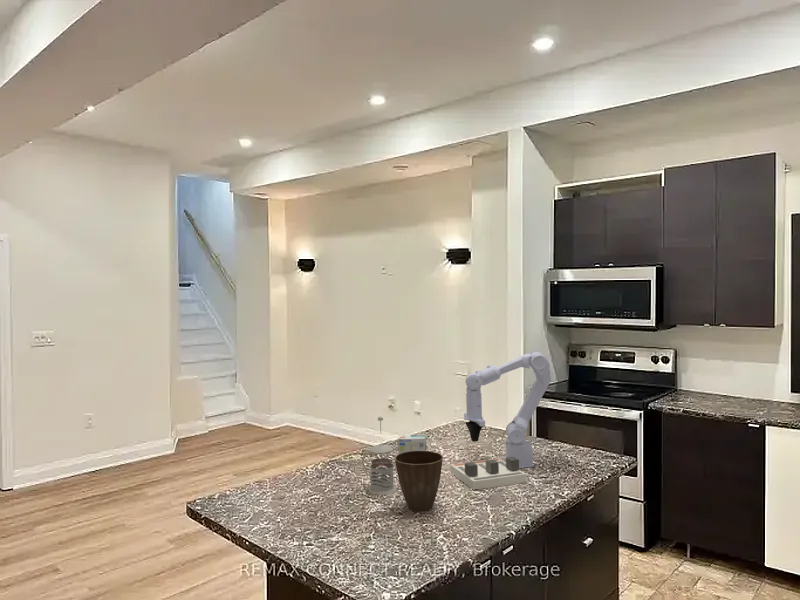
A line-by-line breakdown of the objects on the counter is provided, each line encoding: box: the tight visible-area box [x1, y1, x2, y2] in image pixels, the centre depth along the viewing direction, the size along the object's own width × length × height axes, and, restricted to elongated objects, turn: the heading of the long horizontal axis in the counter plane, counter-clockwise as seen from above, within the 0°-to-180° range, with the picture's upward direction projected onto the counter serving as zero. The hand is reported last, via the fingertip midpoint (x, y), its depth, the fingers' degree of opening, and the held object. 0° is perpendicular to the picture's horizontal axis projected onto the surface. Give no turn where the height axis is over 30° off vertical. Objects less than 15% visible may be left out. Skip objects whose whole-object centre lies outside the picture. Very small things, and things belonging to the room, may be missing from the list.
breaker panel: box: [449, 457, 527, 491], centre depth 212 cm, size 20×20×7 cm
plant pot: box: [394, 450, 444, 513], centre depth 185 cm, size 15×15×16 cm
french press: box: [361, 416, 397, 495], centre depth 202 cm, size 10×12×25 cm
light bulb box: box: [397, 434, 428, 454], centre depth 231 cm, size 11×7×11 cm, turn 84°
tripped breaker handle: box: [485, 458, 499, 474], centre depth 208 cm, size 3×4×4 cm
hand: (474, 441), depth 226 cm, fingers closed
